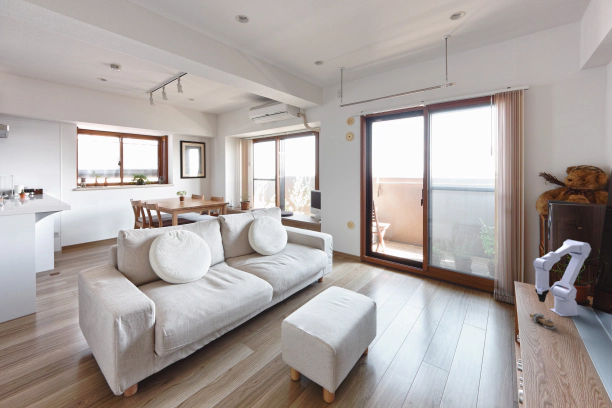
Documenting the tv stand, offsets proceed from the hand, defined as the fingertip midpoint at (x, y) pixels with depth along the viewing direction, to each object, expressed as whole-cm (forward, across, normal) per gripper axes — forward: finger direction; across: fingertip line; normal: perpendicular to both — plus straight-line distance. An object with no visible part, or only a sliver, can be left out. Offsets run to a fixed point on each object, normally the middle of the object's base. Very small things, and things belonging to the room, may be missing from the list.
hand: (541, 301), depth 155 cm
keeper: (+9, -8, 0) cm, 12 cm away
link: (+8, -8, -1) cm, 12 cm away
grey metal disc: (+9, -10, -4) cm, 14 cm away
